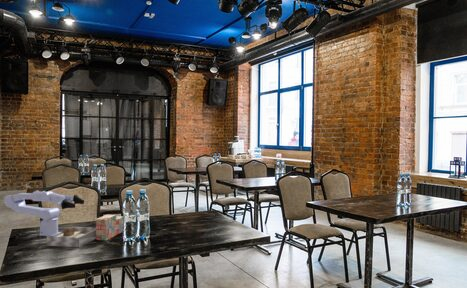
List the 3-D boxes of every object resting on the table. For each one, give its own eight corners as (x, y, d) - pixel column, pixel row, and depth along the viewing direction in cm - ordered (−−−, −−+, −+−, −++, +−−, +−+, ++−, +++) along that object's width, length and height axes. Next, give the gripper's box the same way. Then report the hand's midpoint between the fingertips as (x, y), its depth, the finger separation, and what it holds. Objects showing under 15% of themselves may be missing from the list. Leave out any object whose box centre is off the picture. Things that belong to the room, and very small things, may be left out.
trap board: (46, 245, 199) (46, 236, 199) (70, 235, 220) (70, 226, 220) (78, 247, 196) (78, 237, 196) (99, 236, 217) (99, 228, 217)
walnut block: (63, 236, 207) (63, 229, 207) (67, 234, 211) (67, 227, 211) (69, 236, 207) (69, 229, 206) (74, 234, 210) (74, 227, 210)
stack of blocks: (115, 230, 231) (114, 211, 231) (124, 231, 230) (124, 211, 229) (95, 240, 210) (95, 218, 210) (105, 240, 209) (105, 219, 209)
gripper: (51, 196, 212) (70, 201, 208) (68, 189, 226) (87, 194, 222) (50, 208, 213) (70, 213, 210) (68, 200, 227) (87, 205, 223)
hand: (79, 204), depth 216 cm, fingers open, 7 cm apart
